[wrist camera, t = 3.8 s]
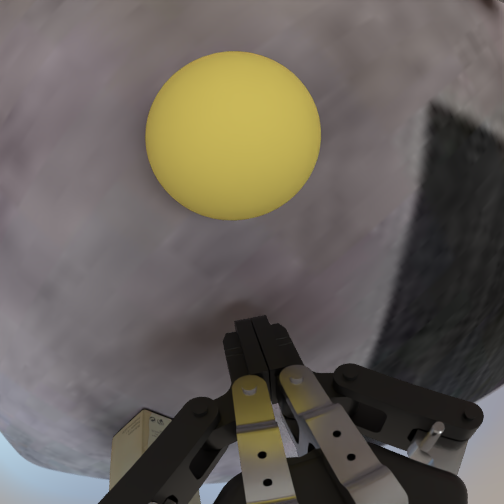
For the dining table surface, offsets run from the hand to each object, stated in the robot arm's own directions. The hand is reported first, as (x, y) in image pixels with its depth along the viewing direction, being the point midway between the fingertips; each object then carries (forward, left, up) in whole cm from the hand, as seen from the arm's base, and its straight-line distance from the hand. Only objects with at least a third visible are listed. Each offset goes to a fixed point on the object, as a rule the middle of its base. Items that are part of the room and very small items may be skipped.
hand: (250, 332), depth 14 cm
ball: (+9, 0, +1) cm, 9 cm away
